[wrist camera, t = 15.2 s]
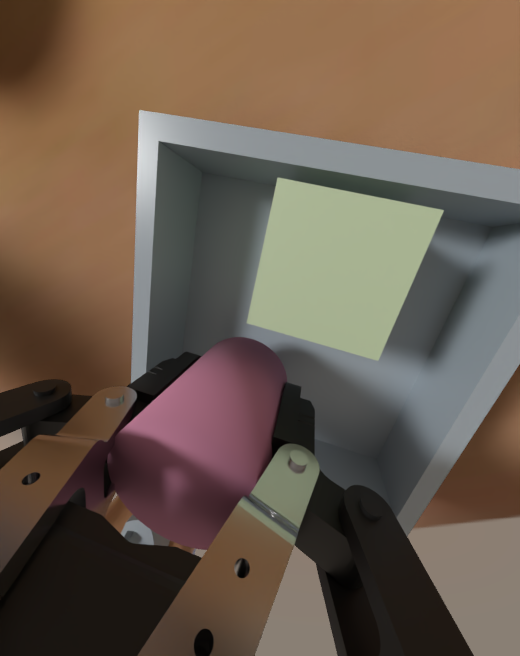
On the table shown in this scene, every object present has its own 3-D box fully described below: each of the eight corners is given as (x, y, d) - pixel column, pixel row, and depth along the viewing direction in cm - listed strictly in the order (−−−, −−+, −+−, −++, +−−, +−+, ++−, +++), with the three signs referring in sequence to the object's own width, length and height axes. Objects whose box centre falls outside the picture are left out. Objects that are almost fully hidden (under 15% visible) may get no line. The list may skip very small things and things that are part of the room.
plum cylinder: (196, 401, 13) (107, 514, 7) (207, 326, 12) (106, 396, 6) (275, 427, 12) (242, 571, 7) (297, 351, 11) (278, 456, 5)
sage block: (291, 205, 11) (277, 177, 7) (392, 227, 11) (444, 210, 6) (269, 299, 13) (246, 323, 9) (356, 323, 12) (378, 361, 8)
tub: (172, 393, 17) (129, 435, 13) (196, 156, 12) (138, 109, 8) (382, 462, 15) (406, 538, 11) (510, 212, 10) (634, 187, 6)
